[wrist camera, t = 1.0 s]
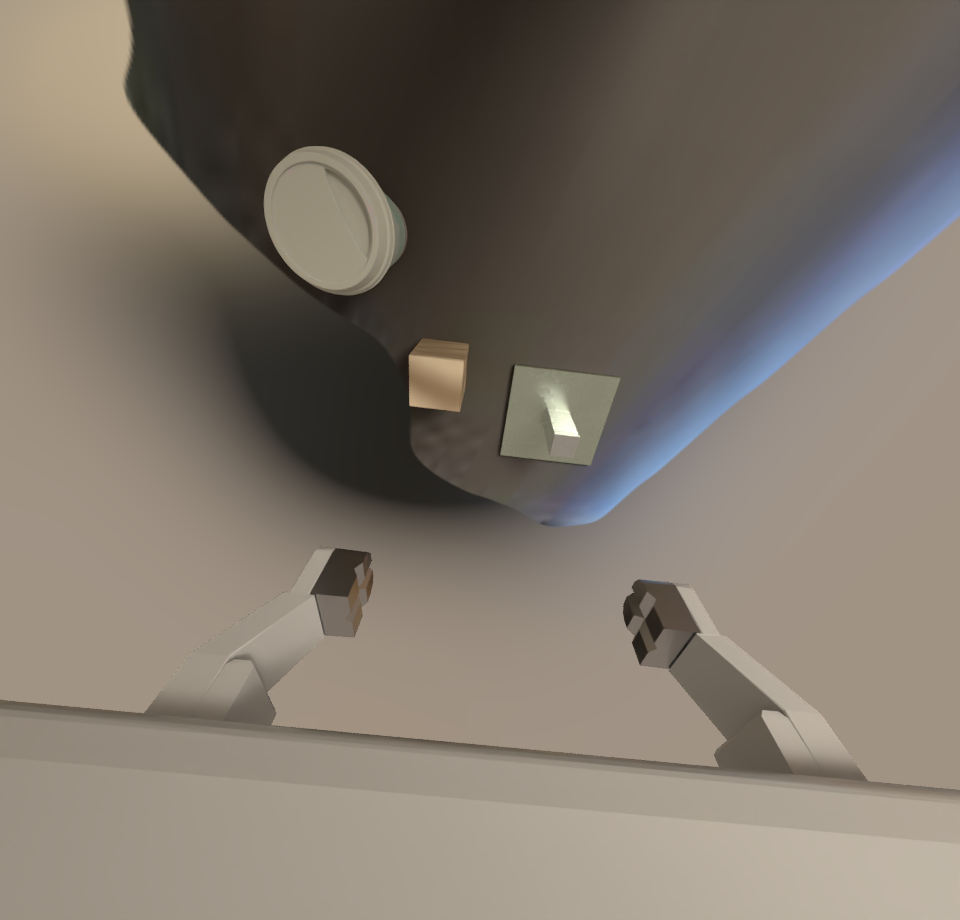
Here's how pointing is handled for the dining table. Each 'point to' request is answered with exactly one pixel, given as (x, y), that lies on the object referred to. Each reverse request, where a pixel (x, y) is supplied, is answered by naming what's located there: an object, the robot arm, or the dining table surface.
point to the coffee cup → (332, 220)
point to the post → (556, 413)
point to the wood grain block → (438, 374)
